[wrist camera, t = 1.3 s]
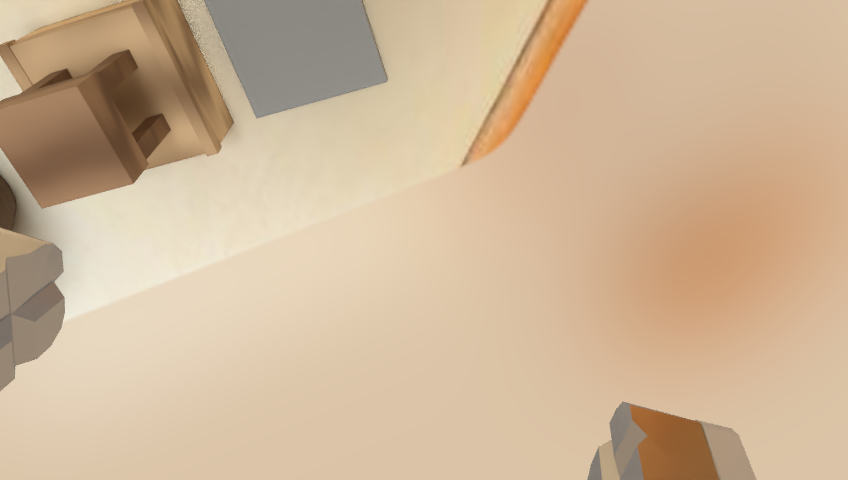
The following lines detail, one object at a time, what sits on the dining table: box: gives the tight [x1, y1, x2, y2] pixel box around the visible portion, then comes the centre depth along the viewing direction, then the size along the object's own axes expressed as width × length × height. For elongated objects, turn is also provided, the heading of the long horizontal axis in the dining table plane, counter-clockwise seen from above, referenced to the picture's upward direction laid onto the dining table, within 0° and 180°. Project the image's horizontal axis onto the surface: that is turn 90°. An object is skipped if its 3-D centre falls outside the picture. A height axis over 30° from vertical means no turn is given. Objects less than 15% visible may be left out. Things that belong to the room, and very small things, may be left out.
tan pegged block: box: [0, 49, 171, 208], centre depth 40 cm, size 6×6×8 cm
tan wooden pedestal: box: [0, 0, 233, 170], centre depth 45 cm, size 10×10×5 cm
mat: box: [204, 0, 387, 118], centre depth 46 cm, size 10×10×1 cm
